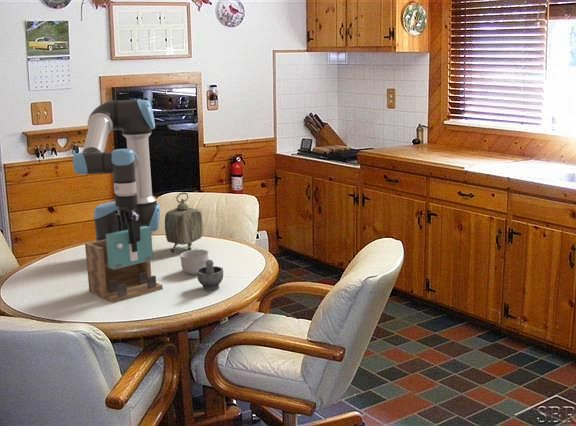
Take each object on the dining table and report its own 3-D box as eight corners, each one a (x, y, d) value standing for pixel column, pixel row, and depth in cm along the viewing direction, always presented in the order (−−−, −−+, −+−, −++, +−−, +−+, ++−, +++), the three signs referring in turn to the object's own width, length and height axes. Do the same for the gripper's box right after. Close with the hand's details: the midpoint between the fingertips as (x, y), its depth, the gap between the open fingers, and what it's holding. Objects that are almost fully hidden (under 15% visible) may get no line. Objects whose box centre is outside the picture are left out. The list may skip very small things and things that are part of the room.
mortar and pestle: (197, 284, 276) (196, 253, 274) (223, 283, 277) (222, 251, 274) (197, 294, 265) (195, 262, 263) (224, 293, 266) (222, 260, 264)
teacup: (204, 277, 285) (203, 257, 283) (177, 276, 287) (175, 256, 285) (215, 266, 298) (214, 247, 296) (189, 265, 300) (187, 246, 298)
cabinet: (89, 291, 272) (84, 243, 268) (137, 278, 285) (133, 232, 281) (113, 302, 259) (109, 252, 255) (162, 288, 273) (159, 240, 269)
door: (108, 267, 262) (105, 234, 259) (147, 258, 272) (145, 225, 270) (115, 270, 258) (112, 236, 256) (155, 260, 269) (153, 227, 266)
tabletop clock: (189, 244, 330) (186, 188, 325) (205, 247, 325) (202, 190, 320) (166, 252, 319) (162, 194, 313) (182, 255, 314) (178, 197, 308)
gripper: (103, 192, 264) (109, 257, 269) (128, 198, 252) (134, 266, 257) (122, 189, 269) (127, 252, 274) (148, 195, 257) (152, 261, 262)
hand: (130, 259), depth 265 cm, fingers closed on door, 3 cm apart
